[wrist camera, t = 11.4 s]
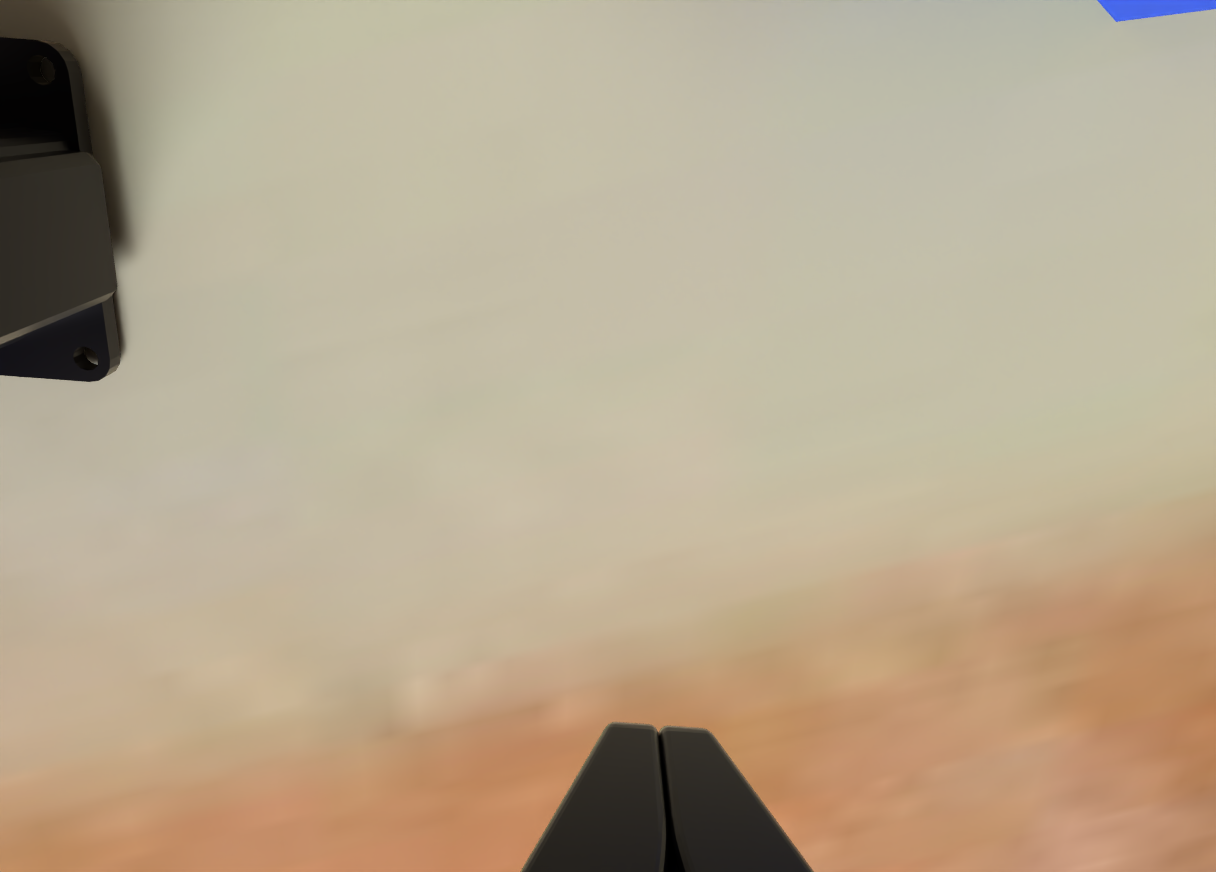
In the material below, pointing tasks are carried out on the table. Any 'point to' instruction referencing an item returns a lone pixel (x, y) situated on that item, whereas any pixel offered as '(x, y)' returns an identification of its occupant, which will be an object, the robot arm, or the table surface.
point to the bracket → (1153, 7)
